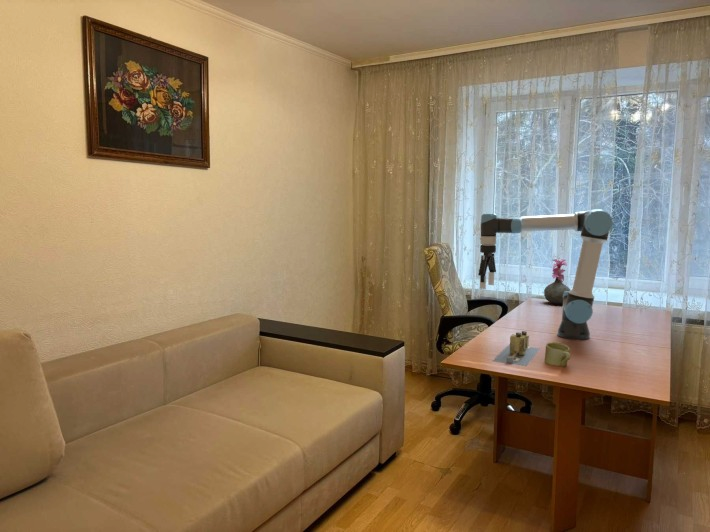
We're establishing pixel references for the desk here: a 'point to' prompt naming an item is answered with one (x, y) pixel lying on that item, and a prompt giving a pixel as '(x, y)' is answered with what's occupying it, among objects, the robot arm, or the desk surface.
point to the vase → (556, 284)
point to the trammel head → (517, 344)
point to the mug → (557, 354)
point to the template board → (519, 359)
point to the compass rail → (510, 359)
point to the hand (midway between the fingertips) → (487, 286)
